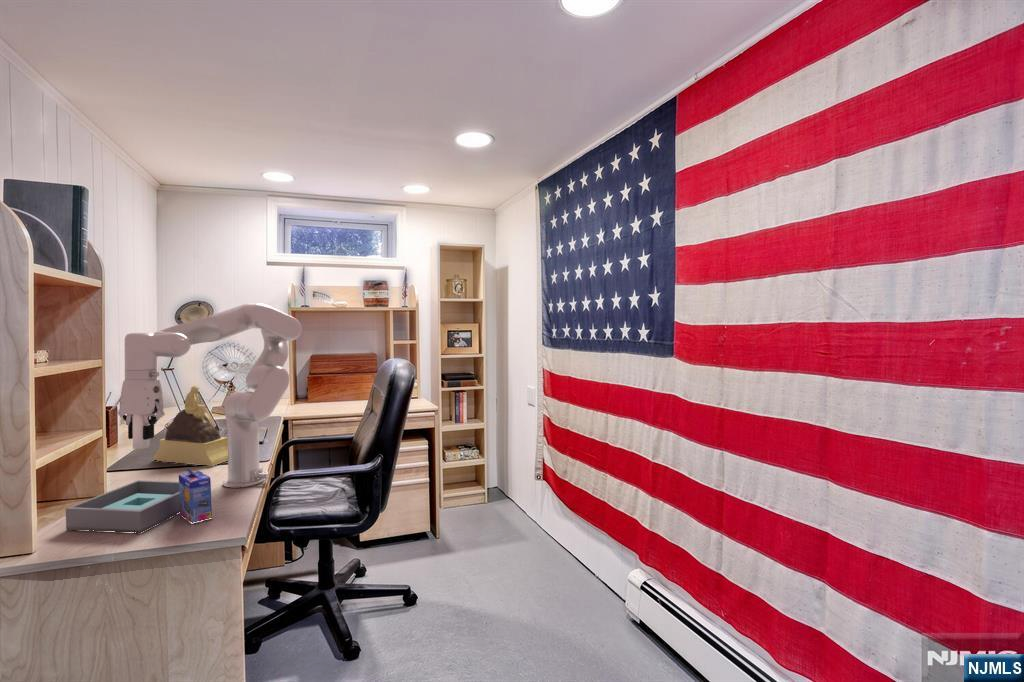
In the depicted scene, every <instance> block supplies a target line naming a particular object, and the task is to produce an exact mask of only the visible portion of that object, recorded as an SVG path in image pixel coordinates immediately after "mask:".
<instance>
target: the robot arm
mask: <svg viewBox="0 0 1024 682" xmlns="http://www.w3.org/2000/svg"><path fill="white" fill-rule="evenodd" d="M251 329H260V332H261V335H262V338H263V345H264V346H263V349H262V351H261V354H260V355H259V356H258V358H257V360H256V361H255V362H254V364H253V365H252V367H250V369H249V371H248V372H247V374H246V376H245V383H246V386H247V387H248V388H249V389H250V390H253V391H247V390H237V391H234V392H232V393H230V394H229V395H227V397H226V399H225V401H224V405H223V410H224V415H225V416H224V417H225V420H226V429H227V438H228V462H227V477H226V478H225V479H223V481H222V485H223V487H226V488H229V487H230V488H232V489H239V488H240V487H241V488H247V487H252V486H256V485H258V484H261V483H262V482H264V481H265V480H267V479H269V478H270V471H263V467H262V466H260V428H259V422H262V421H265V420H266V419H268V418H269V417H270V416H271V415H272V413H273V412H274V411H275V409H276V407H277V406H278V404H279V403H280V401H281V399H282V398H283V396H284V394H285V393H286V391H287V389H288V388H289V384H290V375H289V372H288V370H287V369H285V368H284V366H285V363H286V361H287V359H288V357H289V346H288V342H292V341H295V340H297V339H298V338H299V337H300V336H301V334H302V332H303V330H302V329H303V327H302V324H301V322H300V321H299V320H298V319H297V318H295V317H293V315H289V314H287V313H286V312H283V311H281V310H279V309H277V308H275V307H272V306H270V305H267V304H264V303H246V304H245V303H244V304H241V305H237V306H235V307H232V308H229V309H226V310H223V311H220V312H217V313H215V314H214V313H213V314H211V315H209V316H208V315H207V316H204V317H201V318H197V319H194V320H190V321H187V322H184V323H183V322H182V323H180V324H176V325H172V326H170V327H167V328H163V329H160V330H158V331H155V332H153V333H151V332H150V333H149V332H148V333H147V332H131V333H127V334H126V335H125V337H124V380H123V381H122V385H121V386H122V387H121V391H120V404H119V405H120V408H119V409H118V411H117V415H118V416H119V417H121V418H122V419H123V420H124V421H125V425H126V426H127V430H128V431H127V439H129V440H133V422H132V415H133V414H138V415H143V416H144V421H145V425H146V426H143V439H144V440H147V439H155V425H156V424H157V422H158V421H159V420H160V419H161V418H163V417H165V415H166V413H165V411H164V394H163V388H162V383H161V381H160V379H158V377H159V376H160V371H159V372H158V357H162V358H163V357H165V358H180V357H183V356H185V355H186V354H188V352H189V351H190V349H191V346H192V345H197V344H202V343H203V344H204V343H213V342H219V341H222V340H226V339H229V338H230V337H232V336H235V335H237V334H240V333H243V332H245V331H248V330H251ZM149 416H150V419H149ZM241 488H240V489H241Z"/></svg>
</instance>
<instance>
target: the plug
mask: <svg viewBox="0 0 1024 682" xmlns="http://www.w3.org/2000/svg"><path fill="white" fill-rule="evenodd" d="M149 419H151V418H150V416H149ZM132 422H133V439H132V449H133V450H141V449H143V450H144V449H148V448H150V447H151V446H150V445H151V443H150V442H151V440H150V439H151V438H150V439H147V440H144V439H143V426H146V425H145V421H144V416H143V415H138V414H133V415H132Z"/></svg>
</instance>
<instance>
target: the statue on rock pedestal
mask: <svg viewBox="0 0 1024 682" xmlns="http://www.w3.org/2000/svg"><path fill="white" fill-rule="evenodd" d="M199 390H200V387H199V386H197V385H193V386H191V388H190V391H189V392H188V393H187V394H186V396H185V399H184V409H182V410H180V411H179V412H178V413H177V414H176V415H175V417H174V418H173V420H172V422H171V423H170V424H169V425H168V426H167V428H166V432H165V437H164V438H162V439H159V446H158V449H157V452H156V453H155V454H154V455H153V461H154V460H157V461H156V462H158V461H167V462H177V463H194V464H200V465H207V466H214V467H216V466H215V465H217V464H220V463H222V462H225V461H228V436H226V437H225V436H224V437H223V436H221V434H220V432H219V431H218V429H216V428H215V427H214V425H213V421H212V418H211V416H210V415H209V414H208V413H207V412H206V408H207V407H206V405H204V404H200V397H199V394H198V393H199ZM167 462H166V463H167ZM177 463H176V464H177ZM220 465H221V464H220ZM207 466H206V467H207ZM217 466H218V465H217Z"/></svg>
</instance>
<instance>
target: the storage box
mask: <svg viewBox="0 0 1024 682" xmlns="http://www.w3.org/2000/svg"><path fill="white" fill-rule="evenodd" d="M179 512H180V492H179V481H167V480H145V479H143V480H139V479H138V480H137V479H136V480H135V481H132V482H130V483H128V484H125V485H122V486H120V487H117V488H115V489H112V490H109V491H107V492H105V493H102V494H99V495H96V496H93V497H92V498H89V499H87V500H86V499H85V500H84V501H82V502H78V503H76V504H73V505H70V506H68V507H66V508H65V530H66V529H67V530H89V531H93V530H94V531H115V532H134V533H135V532H136V533H141V532H143V531H145V530H147V529H149V528H151V527H153V526H155V525H157V524H159V523H161V522H163V521H165V520H167V519H169V518H170V517H172V516H174V515H176V514H177V513H179ZM176 516H177V515H176ZM174 517H175V516H174ZM169 520H170V519H169ZM167 521H168V520H167ZM165 522H166V521H165ZM163 523H164V522H163ZM161 524H162V523H161ZM159 525H160V524H159ZM157 526H158V525H157ZM155 527H156V526H155Z"/></svg>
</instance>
